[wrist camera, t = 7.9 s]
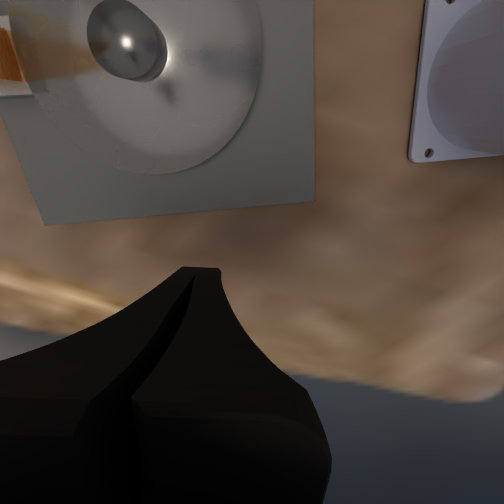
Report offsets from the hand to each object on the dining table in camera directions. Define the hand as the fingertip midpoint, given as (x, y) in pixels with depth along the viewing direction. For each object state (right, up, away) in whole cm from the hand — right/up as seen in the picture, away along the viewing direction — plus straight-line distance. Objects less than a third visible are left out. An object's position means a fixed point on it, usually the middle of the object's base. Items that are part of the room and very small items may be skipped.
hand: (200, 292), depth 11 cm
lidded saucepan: (-5, +11, +4) cm, 12 cm away
